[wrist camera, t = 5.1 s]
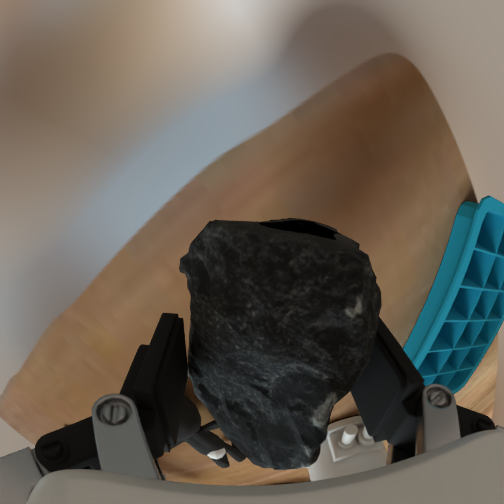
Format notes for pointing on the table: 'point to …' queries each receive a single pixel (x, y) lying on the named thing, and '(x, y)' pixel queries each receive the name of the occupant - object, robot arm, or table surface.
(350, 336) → the rock
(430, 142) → the table surface
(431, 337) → the ice cube tray
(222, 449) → the figurine
